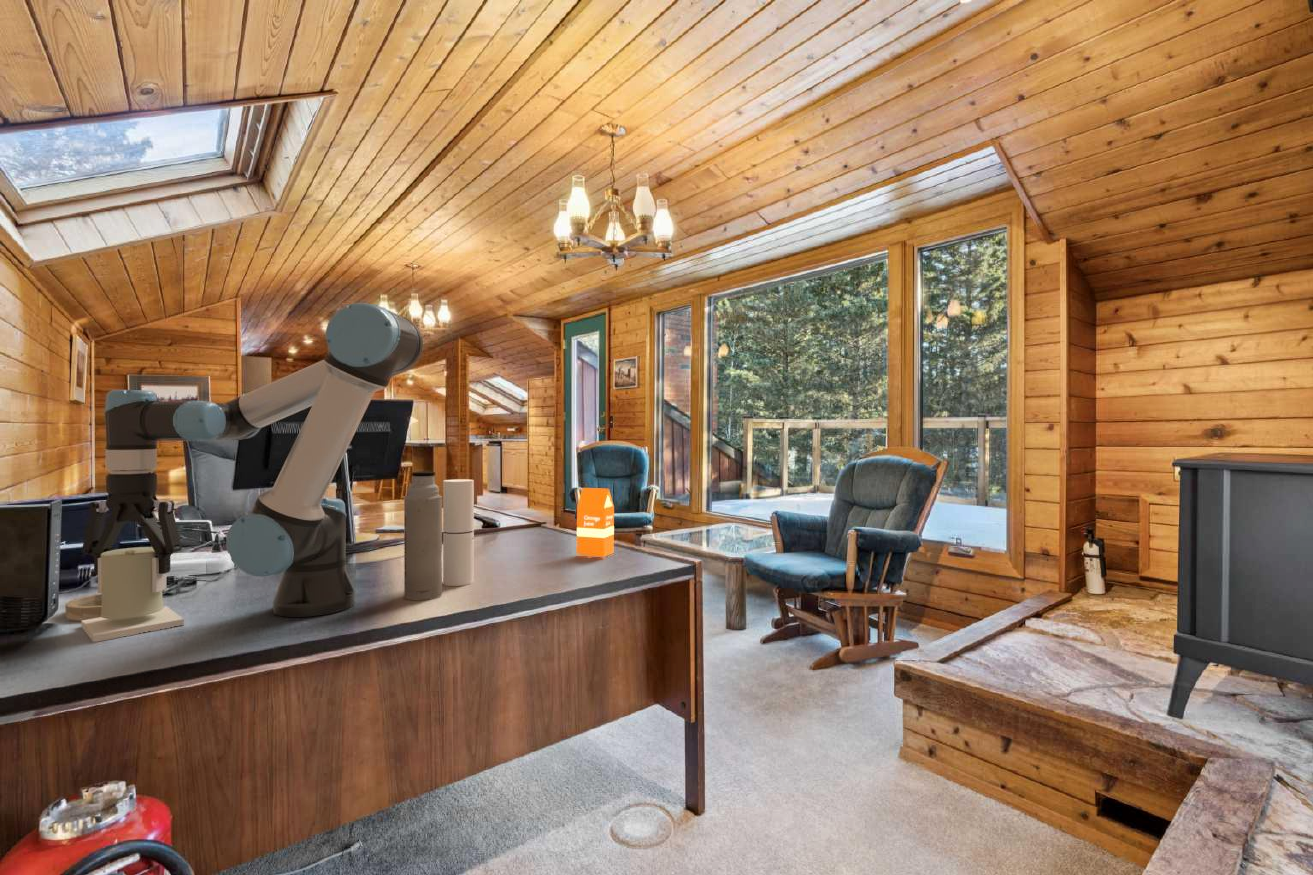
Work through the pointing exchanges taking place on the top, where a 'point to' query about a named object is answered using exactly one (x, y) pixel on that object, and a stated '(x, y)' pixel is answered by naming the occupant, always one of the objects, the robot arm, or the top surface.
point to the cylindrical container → (458, 532)
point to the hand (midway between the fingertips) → (132, 590)
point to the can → (128, 583)
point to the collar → (84, 608)
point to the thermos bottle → (423, 538)
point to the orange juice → (595, 523)
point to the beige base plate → (130, 625)
